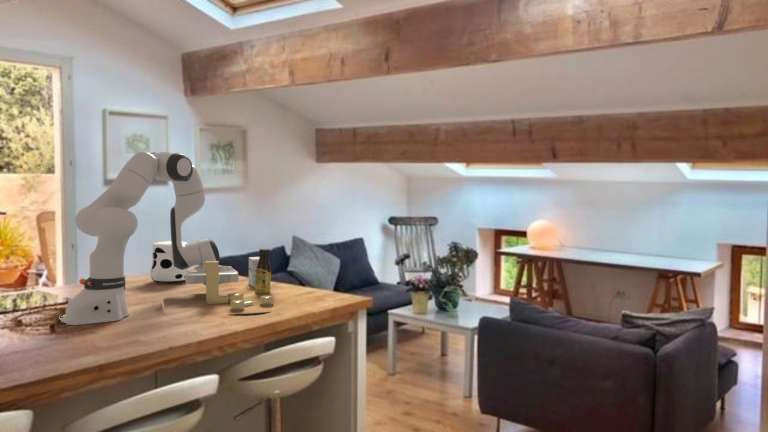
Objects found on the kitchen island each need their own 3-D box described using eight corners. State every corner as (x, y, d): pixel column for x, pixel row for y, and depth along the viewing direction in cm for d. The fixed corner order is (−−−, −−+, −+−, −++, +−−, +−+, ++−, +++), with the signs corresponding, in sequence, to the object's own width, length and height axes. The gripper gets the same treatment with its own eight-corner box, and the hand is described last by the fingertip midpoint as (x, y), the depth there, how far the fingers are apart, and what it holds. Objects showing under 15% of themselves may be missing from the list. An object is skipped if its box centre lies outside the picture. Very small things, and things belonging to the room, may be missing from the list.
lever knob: (206, 305, 239) (206, 263, 238) (205, 302, 244) (205, 260, 243) (244, 303, 244) (244, 261, 242) (242, 300, 249) (242, 259, 248)
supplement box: (248, 284, 290) (248, 257, 289) (264, 283, 293) (264, 256, 292) (251, 287, 284) (252, 259, 283) (268, 286, 287) (268, 258, 286)
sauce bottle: (251, 296, 264) (252, 248, 263) (261, 293, 270) (261, 247, 268) (264, 298, 261) (264, 250, 260) (273, 295, 267) (274, 248, 265)
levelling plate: (237, 318, 225) (237, 306, 224) (205, 308, 240) (205, 296, 240) (287, 309, 241) (287, 298, 240) (254, 300, 256) (254, 289, 255)
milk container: (198, 281, 295) (198, 243, 294) (167, 287, 280) (167, 246, 279) (173, 277, 304) (173, 240, 303) (142, 282, 290) (142, 243, 288)
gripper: (183, 268, 252) (185, 273, 239) (235, 266, 259) (240, 271, 246) (183, 283, 252) (185, 290, 239) (235, 281, 259) (240, 287, 247)
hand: (213, 280), depth 243 cm, fingers closed, pressing on lever knob
